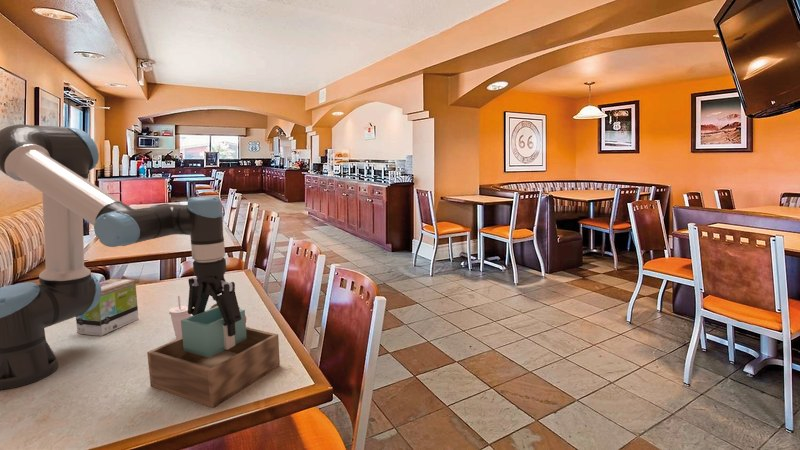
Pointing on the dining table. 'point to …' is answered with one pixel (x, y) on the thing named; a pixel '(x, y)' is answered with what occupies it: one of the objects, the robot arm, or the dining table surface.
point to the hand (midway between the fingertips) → (216, 343)
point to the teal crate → (209, 332)
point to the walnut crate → (213, 368)
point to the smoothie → (178, 317)
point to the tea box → (110, 308)
